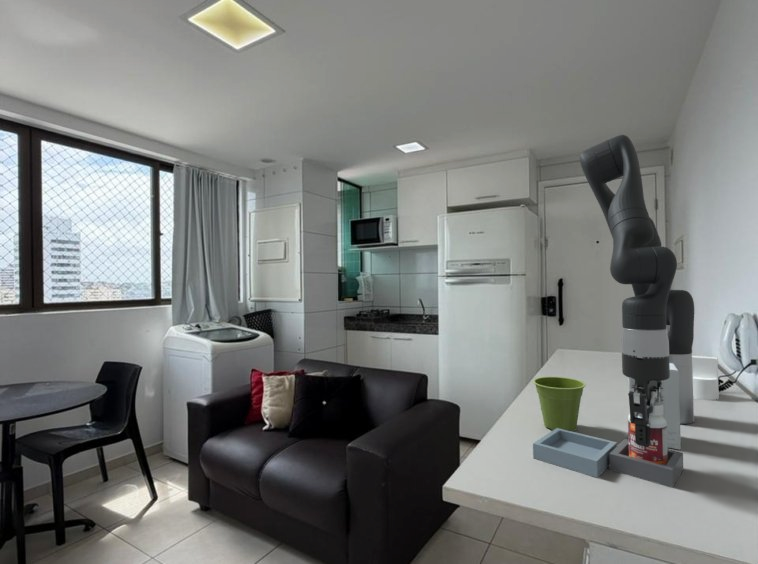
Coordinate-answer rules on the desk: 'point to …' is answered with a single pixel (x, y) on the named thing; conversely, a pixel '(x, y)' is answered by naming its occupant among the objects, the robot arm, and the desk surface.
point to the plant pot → (559, 401)
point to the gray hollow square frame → (646, 465)
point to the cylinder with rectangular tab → (705, 378)
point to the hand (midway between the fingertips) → (647, 439)
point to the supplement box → (669, 406)
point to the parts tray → (574, 451)
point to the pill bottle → (651, 438)
